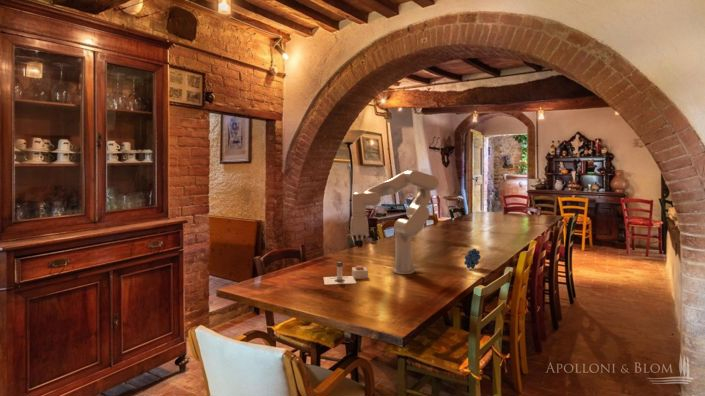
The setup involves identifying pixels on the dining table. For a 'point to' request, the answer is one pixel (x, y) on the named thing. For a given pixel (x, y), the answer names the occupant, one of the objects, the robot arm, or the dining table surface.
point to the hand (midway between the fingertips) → (359, 247)
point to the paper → (334, 281)
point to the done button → (359, 267)
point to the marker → (339, 271)
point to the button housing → (359, 273)
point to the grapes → (472, 258)
